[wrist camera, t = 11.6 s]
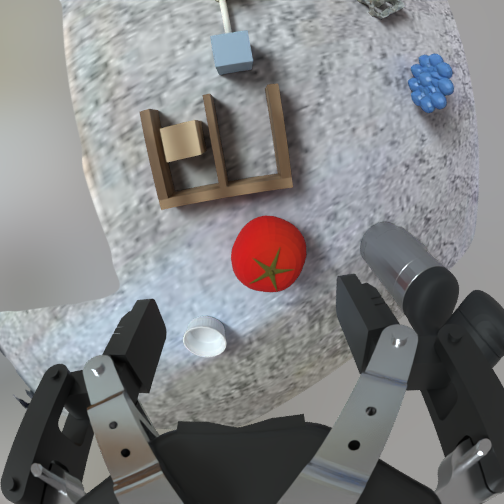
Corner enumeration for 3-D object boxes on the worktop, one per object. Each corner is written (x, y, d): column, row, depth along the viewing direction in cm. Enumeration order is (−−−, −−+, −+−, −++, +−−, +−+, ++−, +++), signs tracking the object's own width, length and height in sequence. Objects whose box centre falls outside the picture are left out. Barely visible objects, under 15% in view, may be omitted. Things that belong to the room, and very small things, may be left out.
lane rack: (274, 87, 37) (278, 83, 33) (288, 181, 43) (292, 187, 39) (149, 112, 37) (139, 111, 33) (168, 201, 44) (161, 209, 40)
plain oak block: (201, 120, 39) (194, 120, 33) (206, 150, 41) (201, 154, 35) (170, 128, 39) (159, 128, 33) (176, 157, 41) (166, 162, 36)
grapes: (423, 121, 38) (466, 126, 27) (395, 106, 37) (436, 106, 27) (432, 68, 33) (473, 63, 22) (404, 52, 32) (443, 41, 22)
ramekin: (227, 344, 59) (227, 358, 55) (188, 342, 58) (185, 356, 54) (226, 313, 55) (225, 327, 51) (183, 312, 54) (180, 325, 51)
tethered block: (235, -14, 28) (234, -30, 22) (251, 69, 35) (253, 61, 30) (205, -9, 28) (200, -25, 22) (219, 74, 35) (215, 66, 30)
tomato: (224, 262, 50) (221, 296, 40) (246, 199, 45) (247, 220, 35) (283, 278, 51) (291, 313, 42) (308, 219, 46) (325, 245, 37)
